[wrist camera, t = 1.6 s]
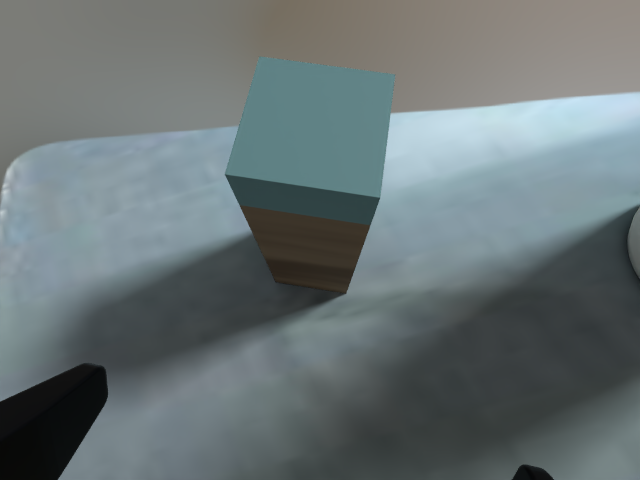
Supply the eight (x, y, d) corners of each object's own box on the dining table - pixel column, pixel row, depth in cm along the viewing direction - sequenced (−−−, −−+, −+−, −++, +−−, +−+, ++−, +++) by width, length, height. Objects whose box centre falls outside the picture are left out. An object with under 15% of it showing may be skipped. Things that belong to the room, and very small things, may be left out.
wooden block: (346, 293, 22) (380, 197, 10) (275, 281, 22) (224, 174, 10) (355, 227, 24) (395, 74, 11) (289, 217, 24) (259, 56, 12)
